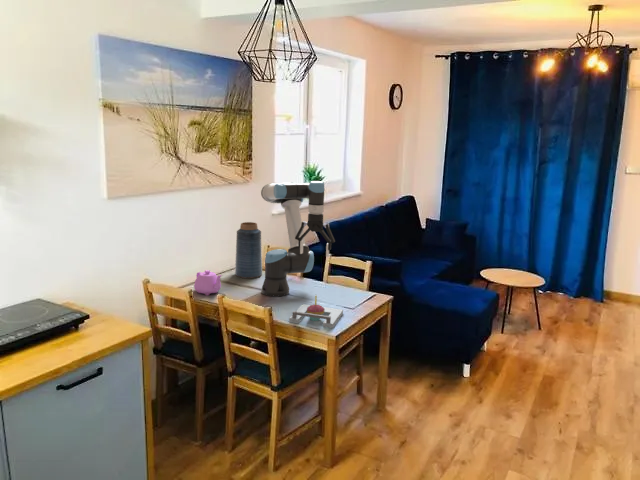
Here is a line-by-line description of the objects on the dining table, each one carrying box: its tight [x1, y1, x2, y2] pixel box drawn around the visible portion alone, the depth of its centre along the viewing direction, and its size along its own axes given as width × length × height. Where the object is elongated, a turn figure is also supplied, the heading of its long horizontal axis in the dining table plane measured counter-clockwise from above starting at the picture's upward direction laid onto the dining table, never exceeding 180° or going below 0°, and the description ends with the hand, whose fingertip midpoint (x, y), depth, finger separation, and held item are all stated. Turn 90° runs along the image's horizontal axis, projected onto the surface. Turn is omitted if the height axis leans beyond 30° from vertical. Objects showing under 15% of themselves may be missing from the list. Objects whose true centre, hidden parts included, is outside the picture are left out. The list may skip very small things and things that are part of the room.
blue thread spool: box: [234, 221, 263, 279], centre depth 314 cm, size 16×16×32 cm
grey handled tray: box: [288, 304, 344, 329], centre depth 251 cm, size 21×20×5 cm
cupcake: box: [307, 295, 325, 322], centre depth 248 cm, size 9×8×12 cm
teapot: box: [193, 269, 223, 296], centre depth 281 cm, size 20×14×12 cm
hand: (314, 254), depth 263 cm, fingers open, 13 cm apart
